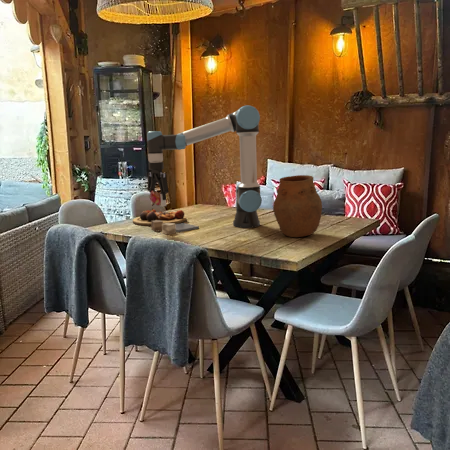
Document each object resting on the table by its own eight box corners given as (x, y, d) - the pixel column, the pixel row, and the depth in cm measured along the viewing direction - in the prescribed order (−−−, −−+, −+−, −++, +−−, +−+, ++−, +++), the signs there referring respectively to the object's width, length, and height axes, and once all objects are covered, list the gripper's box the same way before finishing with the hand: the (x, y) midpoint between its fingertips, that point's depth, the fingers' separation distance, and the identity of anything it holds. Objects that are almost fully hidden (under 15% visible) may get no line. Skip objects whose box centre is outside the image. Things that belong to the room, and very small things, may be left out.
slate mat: (198, 228, 238) (198, 226, 238) (178, 232, 229) (178, 230, 229) (183, 225, 248) (183, 223, 248) (163, 228, 239) (163, 226, 239)
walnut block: (163, 230, 234) (162, 221, 233) (154, 231, 232) (154, 222, 231) (160, 228, 239) (159, 220, 238) (151, 229, 237) (151, 220, 236)
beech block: (175, 233, 228) (175, 223, 227) (169, 234, 224) (168, 225, 223) (168, 231, 231) (168, 222, 230) (162, 233, 227) (161, 224, 226)
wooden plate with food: (195, 219, 268) (195, 206, 267) (168, 228, 240) (167, 213, 238) (152, 216, 282) (152, 204, 280) (121, 225, 253) (120, 211, 252)
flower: (147, 204, 220) (156, 191, 219) (143, 199, 228) (151, 186, 227) (162, 213, 225) (171, 200, 225) (157, 207, 233) (165, 195, 232)
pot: (262, 234, 222) (263, 176, 216) (295, 228, 236) (296, 173, 230) (297, 243, 203) (299, 179, 197) (330, 235, 217) (333, 176, 211)
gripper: (174, 161, 217) (176, 206, 222) (150, 161, 233) (153, 202, 237) (161, 162, 212) (164, 208, 217) (138, 161, 228) (141, 204, 232)
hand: (158, 205), depth 227 cm, fingers closed on flower, 8 cm apart
